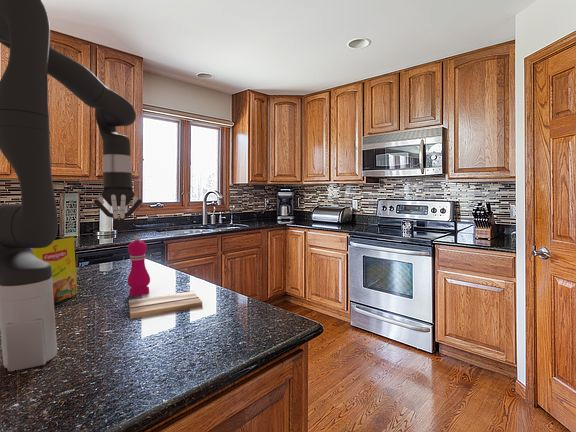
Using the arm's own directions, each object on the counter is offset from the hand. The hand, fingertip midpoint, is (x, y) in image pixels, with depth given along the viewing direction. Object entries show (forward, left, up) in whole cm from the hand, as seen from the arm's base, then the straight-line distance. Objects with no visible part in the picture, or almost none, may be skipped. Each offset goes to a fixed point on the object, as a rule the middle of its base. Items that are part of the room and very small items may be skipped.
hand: (119, 231), depth 99 cm
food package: (+21, +18, -24) cm, 37 cm away
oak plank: (-5, -12, -24) cm, 27 cm away
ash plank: (+1, -11, -24) cm, 26 cm away
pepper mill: (+17, -6, -24) cm, 30 cm away
